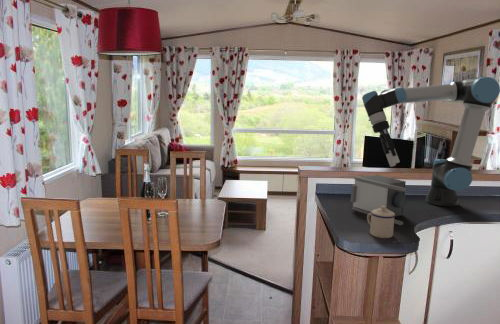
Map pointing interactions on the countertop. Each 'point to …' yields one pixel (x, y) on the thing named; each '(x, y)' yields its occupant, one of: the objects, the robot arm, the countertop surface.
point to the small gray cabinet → (394, 195)
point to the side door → (368, 195)
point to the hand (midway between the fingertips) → (395, 164)
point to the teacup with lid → (381, 222)
